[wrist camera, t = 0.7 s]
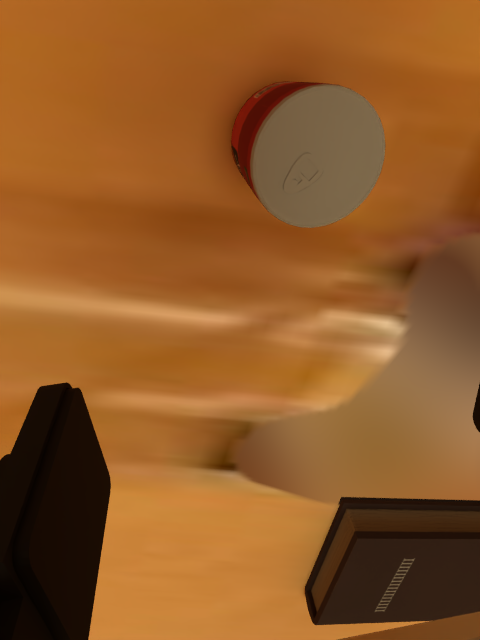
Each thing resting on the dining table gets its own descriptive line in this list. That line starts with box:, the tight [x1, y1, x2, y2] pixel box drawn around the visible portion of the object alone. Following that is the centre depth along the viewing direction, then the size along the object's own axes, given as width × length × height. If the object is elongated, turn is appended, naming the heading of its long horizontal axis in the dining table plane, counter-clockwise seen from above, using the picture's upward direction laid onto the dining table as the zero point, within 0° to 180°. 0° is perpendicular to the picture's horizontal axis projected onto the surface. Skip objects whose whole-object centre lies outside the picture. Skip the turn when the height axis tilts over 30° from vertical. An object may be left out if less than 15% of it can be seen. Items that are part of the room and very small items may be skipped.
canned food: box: [231, 82, 385, 228], centre depth 30 cm, size 8×8×11 cm
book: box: [305, 497, 480, 625], centre depth 62 cm, size 28×20×6 cm
